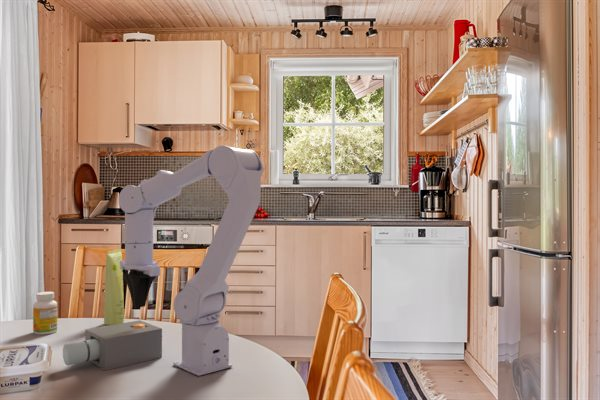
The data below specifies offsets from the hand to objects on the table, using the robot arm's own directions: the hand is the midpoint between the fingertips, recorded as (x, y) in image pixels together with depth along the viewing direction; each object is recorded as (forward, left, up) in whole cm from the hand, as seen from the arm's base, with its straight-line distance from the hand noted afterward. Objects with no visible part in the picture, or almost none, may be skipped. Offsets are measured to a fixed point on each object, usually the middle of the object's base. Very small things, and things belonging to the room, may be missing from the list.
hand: (139, 306), depth 111 cm
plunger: (0, 0, -7) cm, 7 cm away
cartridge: (0, +8, -9) cm, 12 cm away
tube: (+30, -8, -10) cm, 33 cm away
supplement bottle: (+33, +8, -10) cm, 36 cm away
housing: (0, +3, -10) cm, 11 cm away
